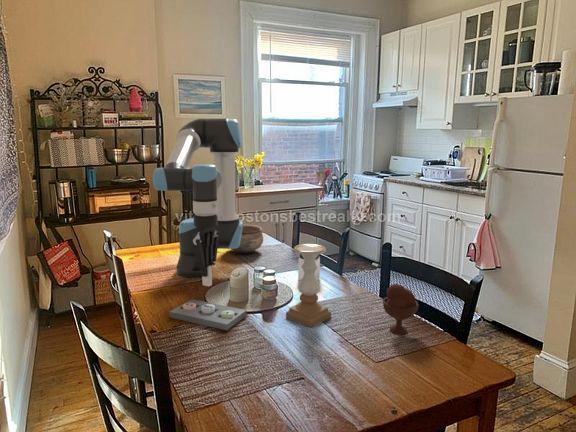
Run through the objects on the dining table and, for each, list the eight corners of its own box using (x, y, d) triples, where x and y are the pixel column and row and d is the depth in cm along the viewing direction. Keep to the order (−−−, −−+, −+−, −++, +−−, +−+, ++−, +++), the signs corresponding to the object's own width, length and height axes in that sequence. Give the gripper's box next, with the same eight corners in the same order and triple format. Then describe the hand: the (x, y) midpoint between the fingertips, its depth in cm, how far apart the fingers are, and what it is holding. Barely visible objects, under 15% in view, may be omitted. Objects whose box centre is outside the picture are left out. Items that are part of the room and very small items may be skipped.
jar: (323, 280, 184) (324, 252, 182) (308, 284, 179) (309, 255, 176) (308, 274, 191) (309, 247, 188) (294, 278, 186) (294, 250, 183)
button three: (198, 315, 146) (198, 307, 146) (206, 310, 150) (206, 302, 150) (210, 317, 144) (209, 309, 144) (217, 312, 148) (217, 305, 148)
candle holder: (331, 317, 148) (333, 247, 143) (310, 327, 140) (312, 254, 136) (306, 308, 155) (308, 241, 151) (285, 317, 148) (285, 247, 143)
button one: (218, 321, 143) (218, 313, 143) (225, 316, 147) (225, 308, 147) (229, 324, 142) (229, 316, 141) (237, 318, 145) (237, 311, 145)
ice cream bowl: (397, 341, 131) (400, 293, 128) (373, 326, 141) (376, 281, 138) (424, 334, 136) (427, 288, 133) (399, 320, 146) (402, 277, 143)
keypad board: (169, 317, 147) (169, 311, 146) (192, 304, 157) (191, 299, 157) (227, 330, 138) (226, 324, 137) (246, 315, 148) (246, 310, 148)
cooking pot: (217, 248, 229) (217, 225, 227) (251, 244, 238) (251, 221, 236) (236, 261, 208) (236, 236, 206) (272, 256, 217) (272, 231, 215)
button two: (180, 313, 149) (180, 305, 149) (188, 308, 153) (188, 301, 153) (191, 315, 148) (190, 308, 147) (199, 310, 152) (198, 303, 151)
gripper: (203, 218, 133) (205, 293, 138) (226, 211, 145) (227, 280, 149) (182, 216, 136) (185, 289, 141) (207, 209, 148) (209, 277, 152)
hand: (207, 284), depth 145 cm, fingers closed
